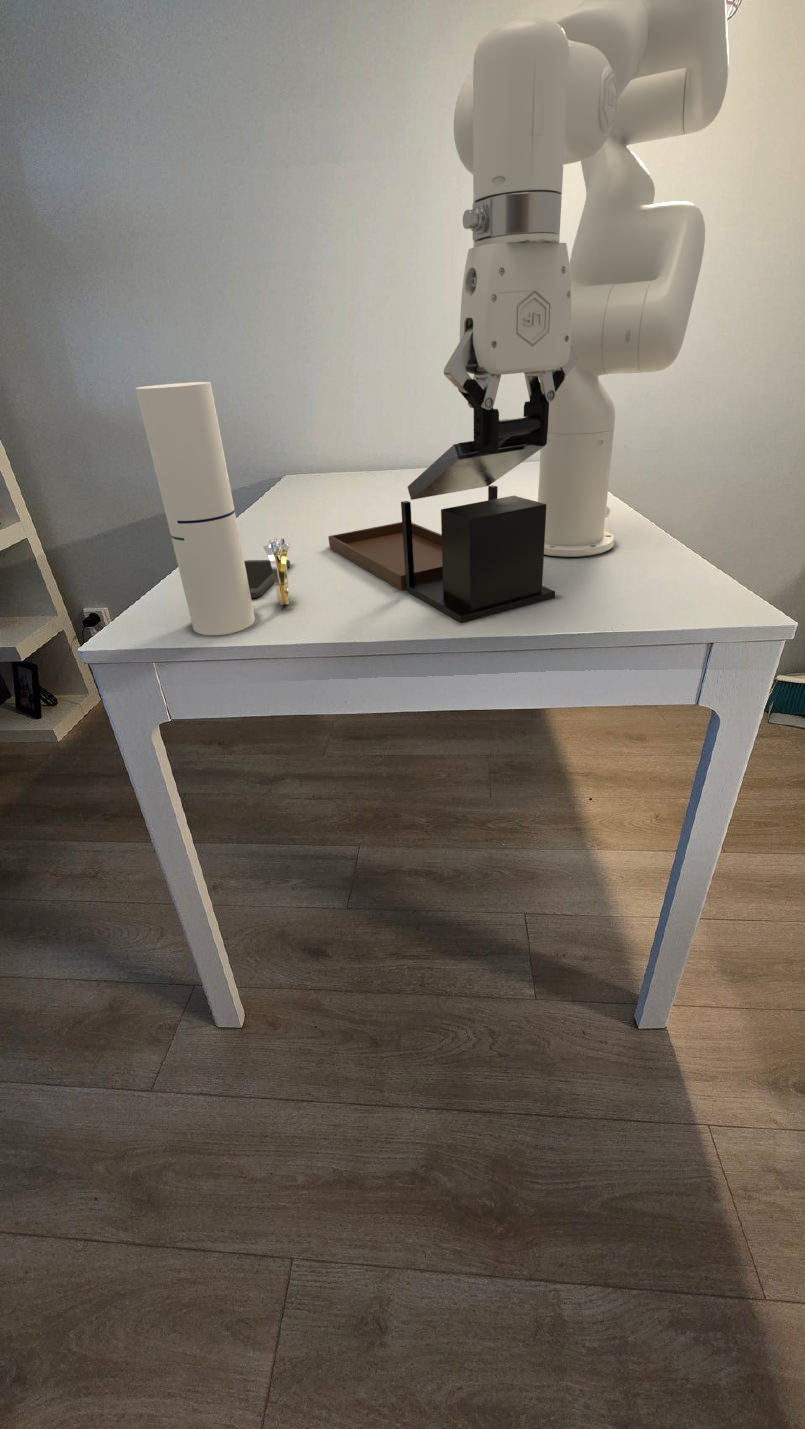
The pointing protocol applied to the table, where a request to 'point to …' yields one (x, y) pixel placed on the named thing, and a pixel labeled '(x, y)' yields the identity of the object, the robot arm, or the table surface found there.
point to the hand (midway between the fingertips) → (510, 446)
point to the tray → (392, 552)
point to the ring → (279, 568)
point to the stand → (484, 557)
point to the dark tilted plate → (477, 461)
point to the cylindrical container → (198, 504)
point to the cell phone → (260, 576)
